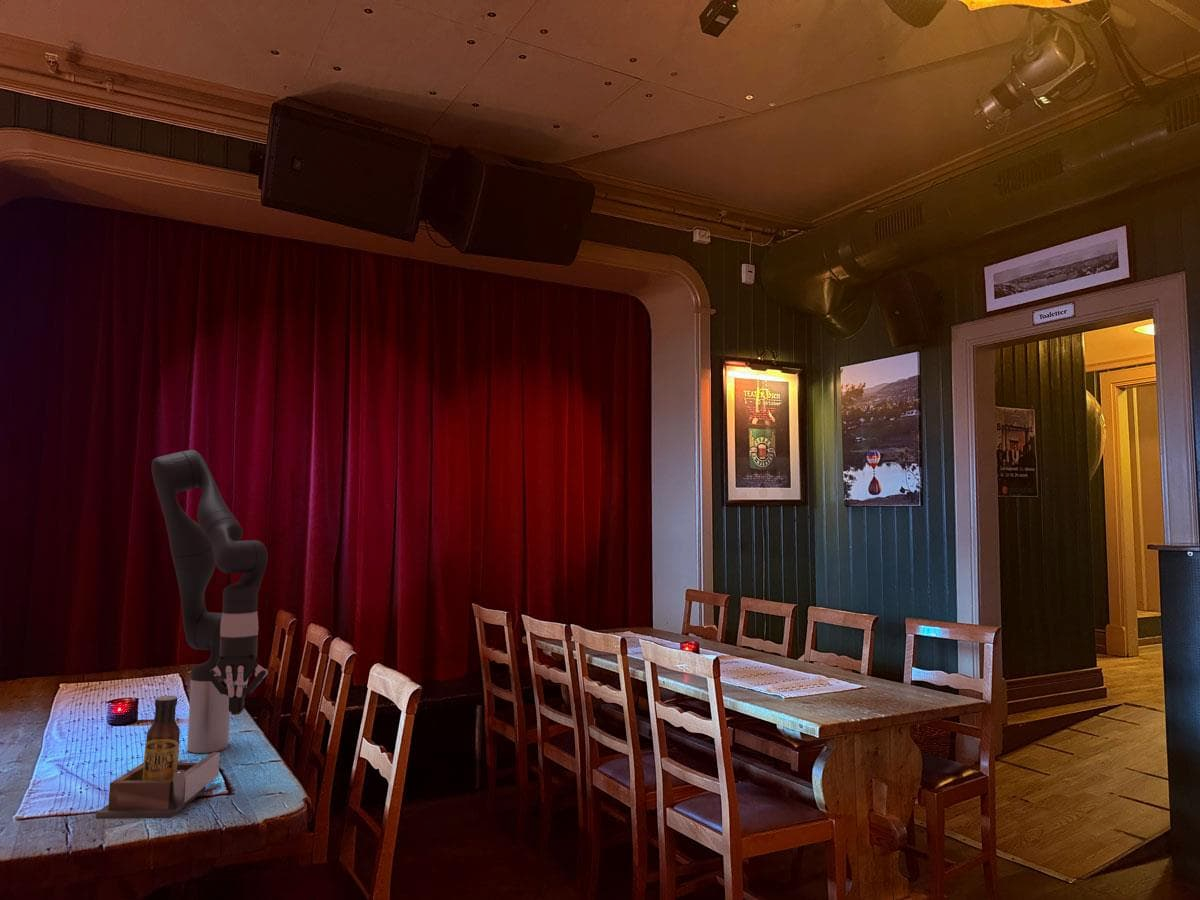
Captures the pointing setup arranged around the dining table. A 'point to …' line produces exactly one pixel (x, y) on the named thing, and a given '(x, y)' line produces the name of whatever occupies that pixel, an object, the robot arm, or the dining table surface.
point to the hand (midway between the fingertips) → (236, 713)
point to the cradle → (142, 796)
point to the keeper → (194, 779)
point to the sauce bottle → (162, 742)
